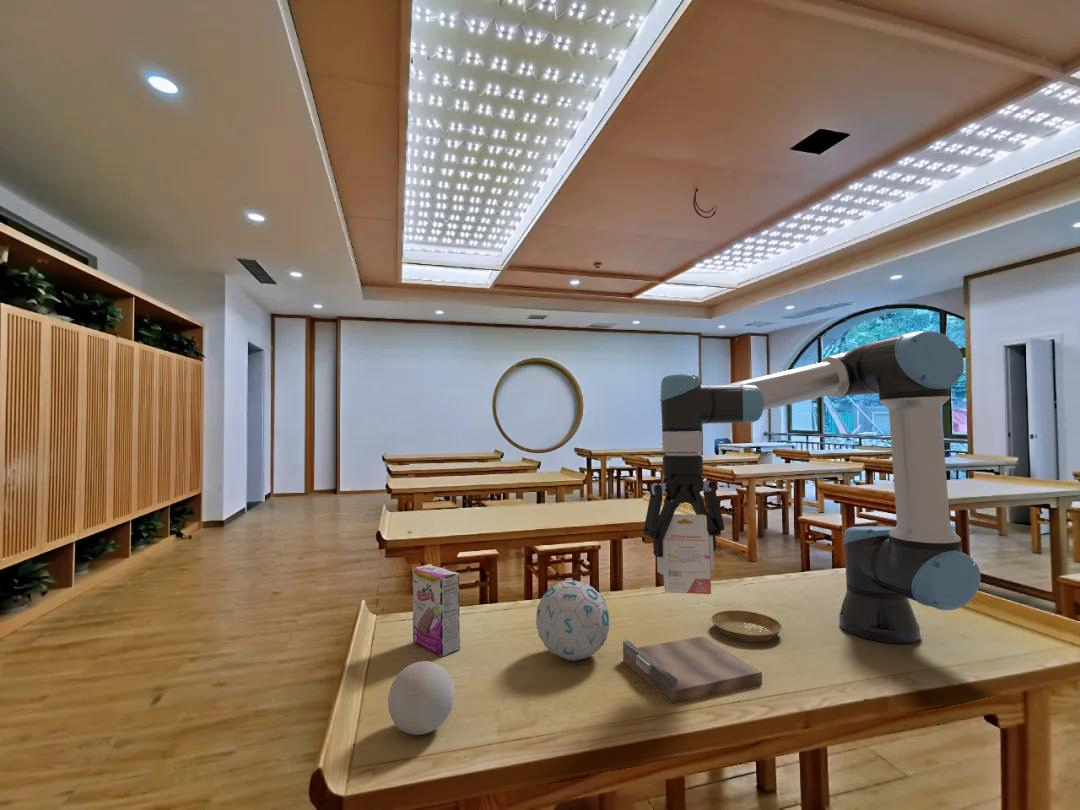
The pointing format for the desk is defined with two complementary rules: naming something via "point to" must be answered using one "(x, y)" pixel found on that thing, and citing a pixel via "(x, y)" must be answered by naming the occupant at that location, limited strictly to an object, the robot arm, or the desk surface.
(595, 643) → the puzzle ball
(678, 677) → the flat brown box
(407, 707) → the grey sphere
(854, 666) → the desk surface
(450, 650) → the candy bar box
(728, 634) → the plant saucer
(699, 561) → the ink cartridge box
